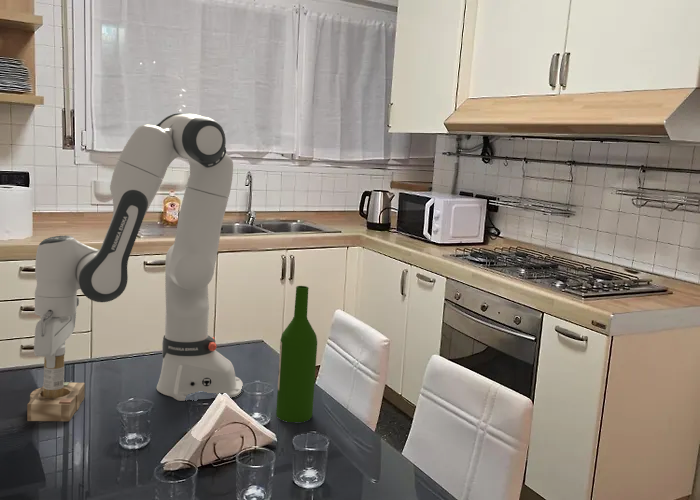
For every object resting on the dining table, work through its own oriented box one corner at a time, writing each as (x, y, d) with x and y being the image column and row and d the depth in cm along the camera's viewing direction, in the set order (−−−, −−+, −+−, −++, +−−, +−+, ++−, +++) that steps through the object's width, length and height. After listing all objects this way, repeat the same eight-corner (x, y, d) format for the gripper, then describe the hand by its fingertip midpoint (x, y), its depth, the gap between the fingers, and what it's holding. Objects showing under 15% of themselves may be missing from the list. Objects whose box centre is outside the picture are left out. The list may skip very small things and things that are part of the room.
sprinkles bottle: (60, 395, 157) (62, 341, 155) (65, 402, 154) (68, 347, 152) (39, 398, 154) (41, 343, 152) (45, 405, 151) (47, 349, 149)
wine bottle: (277, 407, 165) (285, 282, 160) (313, 410, 165) (321, 284, 161) (274, 422, 156) (281, 289, 152) (311, 424, 156) (320, 292, 152)
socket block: (85, 398, 162) (85, 381, 162) (70, 421, 149) (70, 403, 148) (40, 397, 161) (41, 380, 160) (21, 420, 147) (21, 402, 146)
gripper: (57, 317, 141) (56, 378, 143) (80, 296, 161) (79, 350, 163) (26, 316, 140) (25, 378, 142) (53, 295, 160) (53, 349, 162)
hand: (54, 363), depth 153 cm, fingers closed on sprinkles bottle, 4 cm apart
